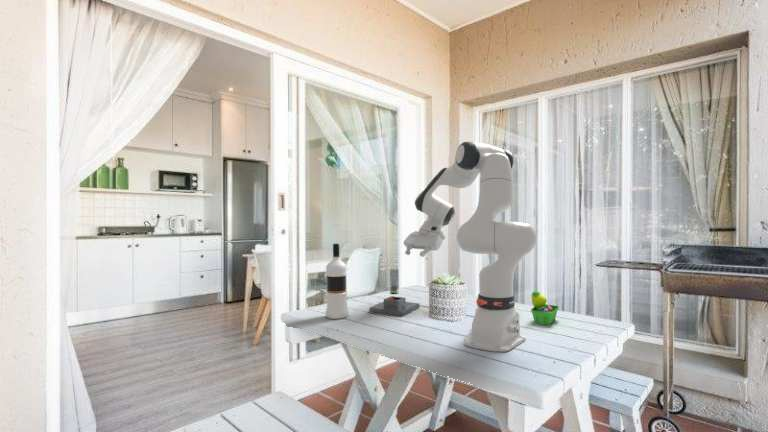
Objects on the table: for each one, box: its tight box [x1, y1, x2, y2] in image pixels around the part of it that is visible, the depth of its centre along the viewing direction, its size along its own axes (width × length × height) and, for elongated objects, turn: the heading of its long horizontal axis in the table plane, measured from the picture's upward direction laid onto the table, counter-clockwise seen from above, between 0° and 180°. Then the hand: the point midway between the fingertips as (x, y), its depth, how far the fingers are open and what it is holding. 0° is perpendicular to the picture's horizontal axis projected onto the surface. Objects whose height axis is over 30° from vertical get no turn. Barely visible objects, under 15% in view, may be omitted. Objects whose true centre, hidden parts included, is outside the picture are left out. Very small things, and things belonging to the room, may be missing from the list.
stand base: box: [368, 295, 420, 317], centre depth 176 cm, size 16×16×6 cm
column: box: [389, 268, 400, 295], centre depth 176 cm, size 4×4×10 cm
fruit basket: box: [530, 290, 560, 326], centre depth 156 cm, size 11×9×11 cm
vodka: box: [325, 243, 350, 320], centre depth 166 cm, size 9×9×30 cm
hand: (413, 254), depth 183 cm, fingers open, 8 cm apart
